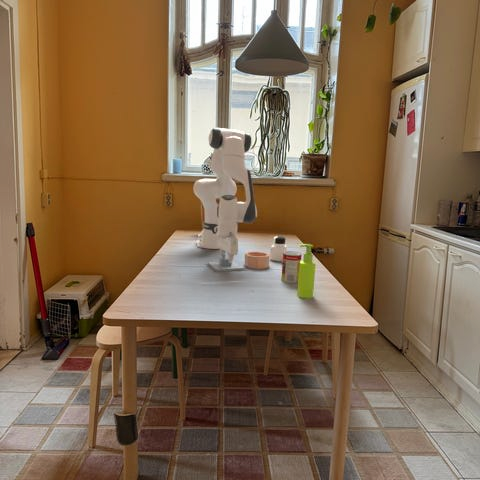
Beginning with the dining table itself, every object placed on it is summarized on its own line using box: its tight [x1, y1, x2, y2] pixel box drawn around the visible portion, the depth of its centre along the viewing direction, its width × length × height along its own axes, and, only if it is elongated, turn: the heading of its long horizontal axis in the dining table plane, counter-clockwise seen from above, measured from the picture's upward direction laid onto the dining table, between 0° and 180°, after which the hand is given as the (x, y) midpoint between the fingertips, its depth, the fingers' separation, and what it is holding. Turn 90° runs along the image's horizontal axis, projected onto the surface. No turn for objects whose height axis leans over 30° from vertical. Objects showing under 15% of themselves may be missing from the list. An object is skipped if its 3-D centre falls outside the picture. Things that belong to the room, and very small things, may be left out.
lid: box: [207, 257, 244, 273], centre depth 189 cm, size 13×13×4 cm
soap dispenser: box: [296, 243, 317, 299], centre depth 153 cm, size 6×7×20 cm
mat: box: [204, 263, 248, 274], centre depth 190 cm, size 16×16×1 cm
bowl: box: [244, 251, 270, 270], centre depth 195 cm, size 11×11×6 cm
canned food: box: [280, 250, 303, 284], centre depth 173 cm, size 8×8×12 cm
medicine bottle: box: [269, 235, 288, 262], centre depth 211 cm, size 7×7×12 cm
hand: (226, 260), depth 189 cm, fingers open, 8 cm apart
